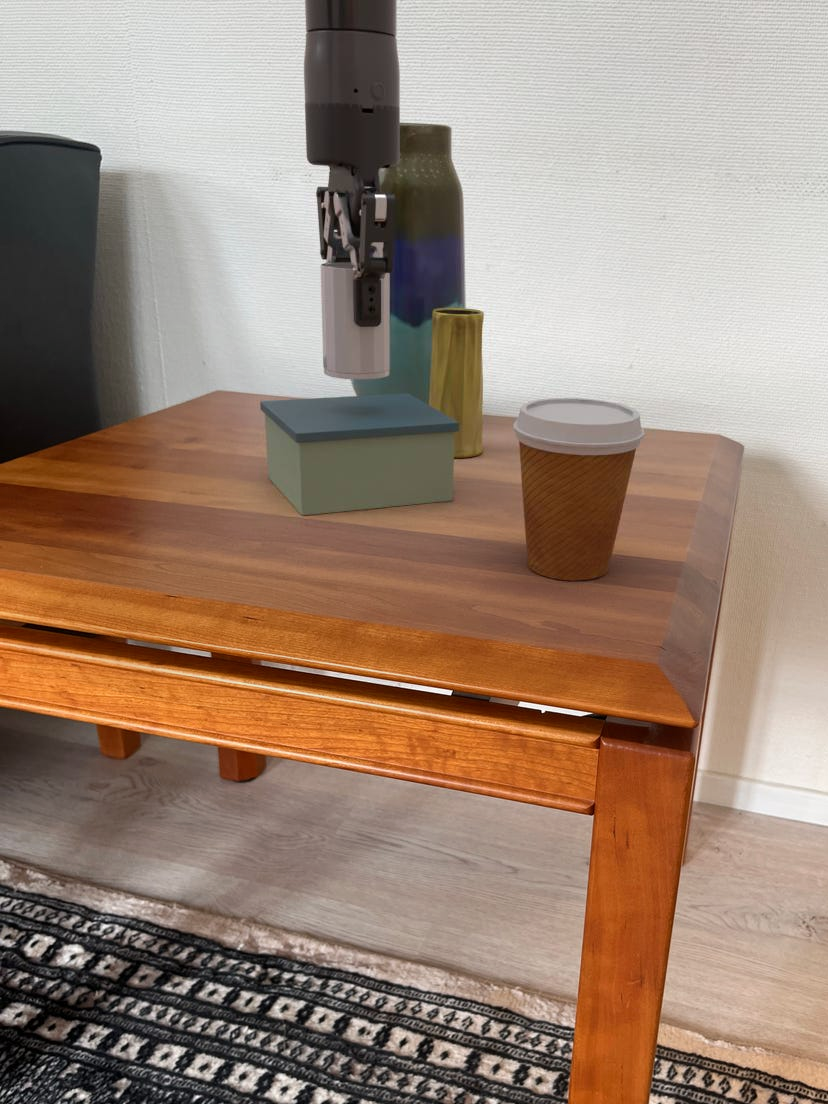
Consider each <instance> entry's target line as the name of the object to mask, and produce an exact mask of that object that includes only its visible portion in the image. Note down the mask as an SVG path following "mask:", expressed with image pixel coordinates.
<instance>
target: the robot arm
mask: <svg viewBox="0 0 828 1104" xmlns="http://www.w3.org/2000/svg"><path fill="white" fill-rule="evenodd" d="M304 11H305V12H304V15H305V16H304V17H305V32H306V33H305V45H304V46H305V47H304V49H305V50H304V56H303V57H304V58H303V87H304V89H303V90H304V115H305V116H304V117H305V146H306V148H305V150H306V151H305V153H306V159H307V162H308V163H309V164H310V165H312V166H319V167H321V166H322V167H328V168H329V169H328V170H329V172H328V182H327V184H328V185H327V186H317V187H316V192H315V196H316V204H317V205H316V206H317V219H318V235H319V255H320V258H321V260H323V261H324V260H325V263H334V262H351V264H352V273H353V276H354V279H353V305H354V323H355V324H356V325H358V326H360V327H377V326H379V325H380V324H381V280H380V279H384V277H385V273H392V270H393V253H394V233H395V213H396V198H395V195H394V194H385V193H381V186H380V177H379V169H380V168H395V167H397V166H398V164H399V161H400V123H401V121H400V120H401V97H400V96H401V91H400V90H401V73H400V61H399V53H398V40H397V36H398V33H397V32H398V27H397V26H398V0H304ZM382 249H383V250H382ZM370 252H371V253H372V254H373V257H370Z"/></svg>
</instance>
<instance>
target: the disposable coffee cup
mask: <svg viewBox="0 0 828 1104" xmlns="http://www.w3.org/2000/svg"><path fill="white" fill-rule="evenodd" d="M512 425H513V426H512V427H513V430H514V432H515V437H516V439H517V441H518V445H519V446H518V447H519V460H520V473H521V475H520V477H521V488H522V491H521V492H522V493H521V494H522V506H523V508H522V509H523V520H524V535H525V549H526V560H527V561H526V564H527V566H528V568H529V569H530V570H531V571H533V572H534V573H536V574H539V575H541V576H544V577H546V578H550V579H554V580H563V581H585V580H593V579H597V578H600V577H602V576H605V574H607V573H608V572H609V569H610V564H611V559H612V556H613V552H614V549H615V542H616V540H617V534H618V532H619V531H618V530H619V525H620V522H621V517H622V513H623V508H624V503H625V500H626V496H627V495H626V494H627V490H628V485H629V482H630V477H631V473H632V469H633V465H634V460H635V456H636V455H635V454H636V451H637V448H638V447H639V446H640V444H641V440H642V439H644V437H645V433H646V432H645V429H644V428H643V427H642V422H641V414H640V413H639V411H638V410H637V409H635V408H634V407H631V406H629V405H626V404H623V403H619V402H613V401H607V400H604V399H603V400H602V399H594V398H583V397H550V398H540V399H534V400H530V401H527V402H525V403H523V404H522V405H521V407H520V410H519V412H518V416H517V419H516V420H515V421H514V422H513V424H512Z"/></svg>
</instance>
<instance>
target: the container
mask: <svg viewBox="0 0 828 1104" xmlns="http://www.w3.org/2000/svg"><path fill="white" fill-rule="evenodd" d="M259 402H260V403H259V405H260V411H261V412H262V413H264V426H265V444H266V462H267V463H266V465H267V478H268V479H269V480H270V482H272V484H273V485H274V486H275V487H276V488H277V489H278V491H279V492H281V494H282V495H283V496H284V497H285V498H286V499H287V500H288V501H289V503H290V504H291V505H292V506H293V507H294V508H295V510H297V512H298V513H299V514H300V515H301V516H302V517H303V516H312V515H321V514H322V515H324V514H332V513H342V512H352V511H361V510H372V509H382V508H392V507H402V506H403V507H404V506H410V505H412V506H413V505H422V504H431V503H432V504H433V503H442V502H452V501H453V498H454V465H455V464H454V463H455V462H454V461H455V458H454V432H455V431H459V422H457V421H455V420H454V419H452V418H450V417H449V416H447V415H445V414H443V413H442V412H440V411H438V410H436V409H435V408H433V407H431V406H429V405H428V404H426V403H424V402H422V401H421V400H419V399H417V398H415V397H414V396H412V395H410V394H408V393H404V394H386V395H368V396H356V395H351V396H334V397H331V396H330V397H313V398H295V399H280V400H278V399H277V400H261V401H259Z"/></svg>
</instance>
